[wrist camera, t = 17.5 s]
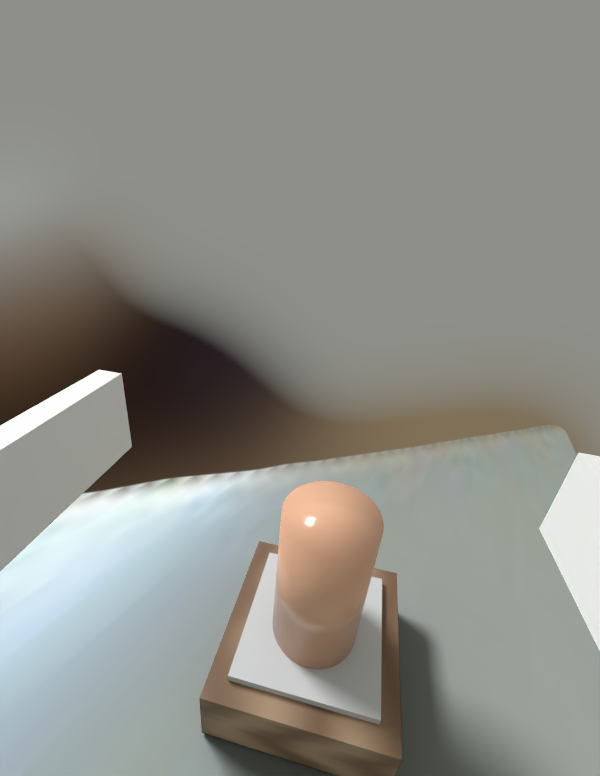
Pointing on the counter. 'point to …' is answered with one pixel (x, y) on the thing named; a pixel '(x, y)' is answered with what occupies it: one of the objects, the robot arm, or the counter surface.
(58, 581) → the counter surface
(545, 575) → the counter surface
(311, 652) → the peach glossy cylinder
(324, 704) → the walnut base
